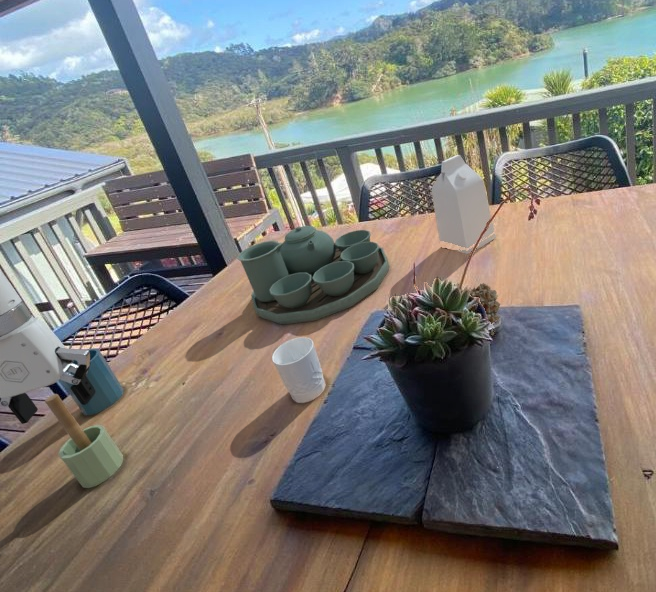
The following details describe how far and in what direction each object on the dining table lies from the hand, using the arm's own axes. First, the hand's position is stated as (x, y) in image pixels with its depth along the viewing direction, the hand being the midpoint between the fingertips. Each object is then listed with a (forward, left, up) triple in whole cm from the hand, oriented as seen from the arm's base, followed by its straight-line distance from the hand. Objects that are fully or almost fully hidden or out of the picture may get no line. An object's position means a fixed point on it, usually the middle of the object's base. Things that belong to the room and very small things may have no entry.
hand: (60, 407), depth 72 cm
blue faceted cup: (-20, +14, -16) cm, 29 cm away
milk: (+48, +84, -16) cm, 98 cm away
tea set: (+10, +63, -16) cm, 66 cm away
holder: (0, 0, -16) cm, 16 cm away
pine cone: (+60, +38, -16) cm, 72 cm away
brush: (0, 0, -15) cm, 15 cm away
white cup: (+30, +23, -16) cm, 41 cm away
